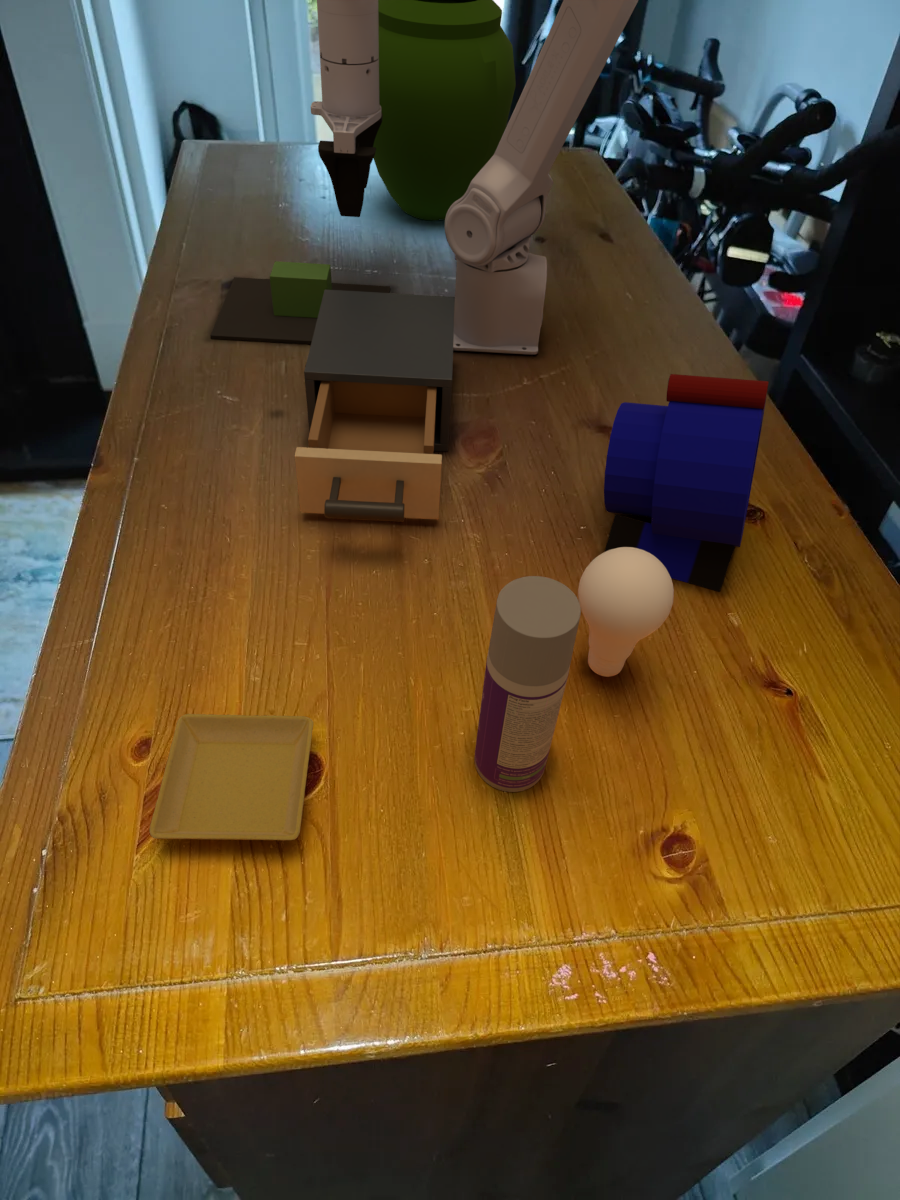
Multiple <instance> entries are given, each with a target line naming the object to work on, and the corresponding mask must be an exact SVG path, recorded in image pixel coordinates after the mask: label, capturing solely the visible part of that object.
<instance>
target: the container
mask: <svg viewBox="0 0 900 1200" xmlns="http://www.w3.org/2000/svg"><path fill="white" fill-rule="evenodd" d="M581 613H582V611H581V607H580V603H579V598H578V596H577V595H576V594H575V593H574V591H572V589H571V588H569V587H568V586H567V585H565V584H564V583H562V582H560V581H558V580H556V579H554V578H551V577H545V576H541V575H528V576H522V577H518V578H515V579H513V580H511V581H510V582H508V583H506V584H505V585H504V586H503V587H502V588H501V590H500V591H499V593H498V595H497V599H496V604H495V610H494V615H493V621H492V628H491V633H490V640H489V645H488V649H487V650H488V651H487V656H486V662H485V670H484V678H483V685H482V693H481V701H480V710H479V716H478V723H477V725H478V726H477V734H476V741H475V748H474V767H475V769H476V772H477V774H478V775H479V776H480V778H481V779H482V780H483V781H484V782H485V783H486V784H487V785H489V786H490V787H492V788H493V789H496V790H499V791H502V792H505V793H506V792H508V793H518V792H523V791H527V790H529V789H531V788H532V787H534V786H536V784H537V783H539V781H540V780H541V779H542V777H543V775H544V773H545V769H546V766H547V762H548V758H549V755H550V750H551V746H552V742H553V738H554V734H555V730H556V726H557V722H558V719H559V714H560V710H561V706H562V702H563V699H564V698H563V697H564V694H565V691H566V686H567V681H568V677H569V675H570V674H569V673H570V668H571V667H570V666H571V663H572V659H573V653H574V648H575V644H576V643H575V642H576V639H577V633H578V630H579V624H580V621H581V620H580V619H581V615H582V614H581Z"/></svg>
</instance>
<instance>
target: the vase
mask: <svg viewBox="0 0 900 1200" xmlns="http://www.w3.org/2000/svg"><path fill="white" fill-rule="evenodd" d="M502 16H503V10H502V8H501V6H500V5H498V3H497V2H495V1H494V0H378V17H379V105H380V106H381V112H382V114H383V119H382V123H381V125H380V127H379V130H378V132H377V135H376V138H375V141H374V145H373V147H376V152H375V156H374V158H373V161H374V165H375V168H376V170H377V174H378V176H379V177H380V179H381V181H382V183H383V184H384V187H385V188H386V190H387V191H388V192H387V193H389V195H390V197H391V198H392V199H393V201H394V202H395V203H396V205H397V206H398V207H399V209H401V211H403V212H404V213H405V214H407V215H409V216H411V217H413V218H415V219H418V220H422V221H423V220H425V221H445V218H446V214H447V211H448V209H449V208H450V206H451V205H452V204H453V203H454V202H455V201H457V200H458V199H460V198H461V197H462V196H463V195H464V194H465V193H466V191H467V189H468V187H469V185H470V183H471V181H472V179H473V178H474V177H475V176H476V175H477V174H478V172H479V171H480V170H481V169H482V168H483V167H484V166H485V164H486V163H487V162H488V161H489V160H490V159H491V157H492V156H493V155H494V153H495V151H496V149H497V147H498V145H499V142H500V140H501V138H502V136H503V133H504V131H505V129H506V127H507V125H508V122H509V116H510V112H511V108H512V103H513V99H514V94H515V89H516V87H517V85H516V83H517V82H516V71H515V70H516V69H515V58H514V48H513V47H514V46H513V43H512V42H511V41H510V38H509V37H508V35H507V34H506V33H505V30H504V28H503V27H502V25H501V24H502V23H501V22H502Z"/></svg>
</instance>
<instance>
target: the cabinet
mask: <svg viewBox="0 0 900 1200" xmlns="http://www.w3.org/2000/svg"><path fill="white" fill-rule="evenodd" d="M454 305H455V296H448V295H447V296H446V295H445V296H444V295H429V294H412V293H411V294H410V293H394V292H393V293H392V292H390V293H377V292H359V291H342V290H324V294H323V298H322V302H321V306H320V310H319V314H318V318H317V322H316V326H315V330H314V334H313V338H312V342H311V344H310V347H309V351H308V355H307V359H306V362H305V367H304V371H303V374H304V375H303V376H304V386H305V398H306V409H307V421H308V433H310V428H311V424H312V419H313V415H314V410H315V406H316V401H317V397H318V392H319V388H320V383H321V380H322V381H340V382H359V383H377V384H396V385H414V386H432V387H437V394H436V416H435V436H434V452H448V451H449V438H450V426H451V424H450V423H451V408H452V389H453V373H454V372H453V370H454V369H453V367H454V366H453V365H454V350H453V339H454Z"/></svg>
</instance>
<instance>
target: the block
mask: <svg viewBox="0 0 900 1200" xmlns="http://www.w3.org/2000/svg"><path fill="white" fill-rule="evenodd" d="M269 274H270V275H269V279H270V284H271V293H272V302H273V311H274V316H290V317H308V318H318V314H319V310H320V306H321V302H322V298H323V294H324V290H332V283H333V282H332V266H331V264H328V263H311V262H310V263H309V262H297V261H276V260H275V261H274V263H273V265H272V268H271V272H270V273H269Z"/></svg>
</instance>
